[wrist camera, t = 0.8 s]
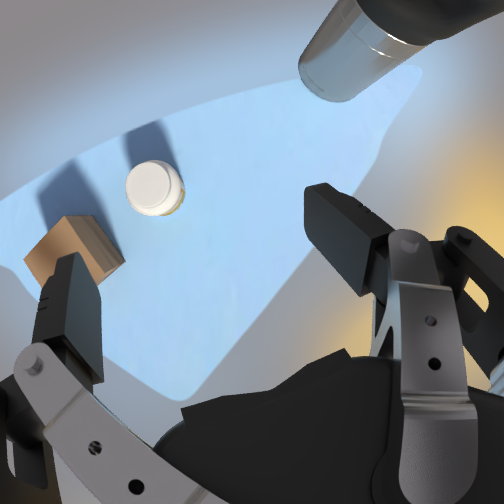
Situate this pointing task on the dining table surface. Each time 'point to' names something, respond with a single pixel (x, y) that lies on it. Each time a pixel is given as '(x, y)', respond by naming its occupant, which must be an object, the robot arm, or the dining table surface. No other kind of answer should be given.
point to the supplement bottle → (154, 188)
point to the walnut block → (74, 248)
